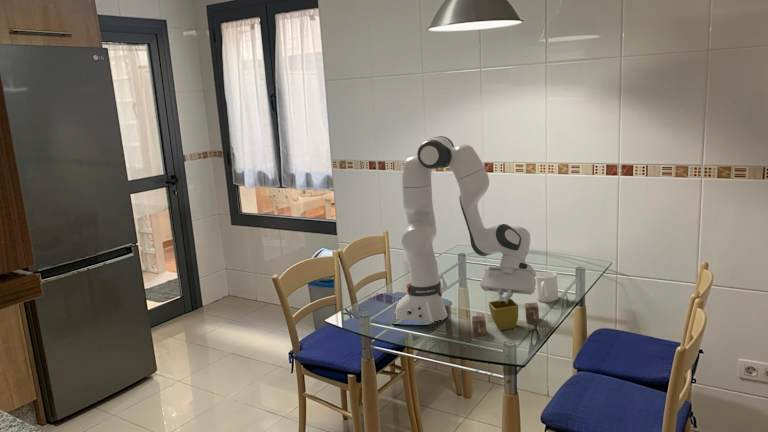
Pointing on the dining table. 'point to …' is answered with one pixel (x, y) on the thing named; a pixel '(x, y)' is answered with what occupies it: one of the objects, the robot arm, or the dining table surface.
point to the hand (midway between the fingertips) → (502, 302)
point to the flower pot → (504, 314)
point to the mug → (546, 286)
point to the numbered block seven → (532, 312)
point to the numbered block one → (479, 326)
